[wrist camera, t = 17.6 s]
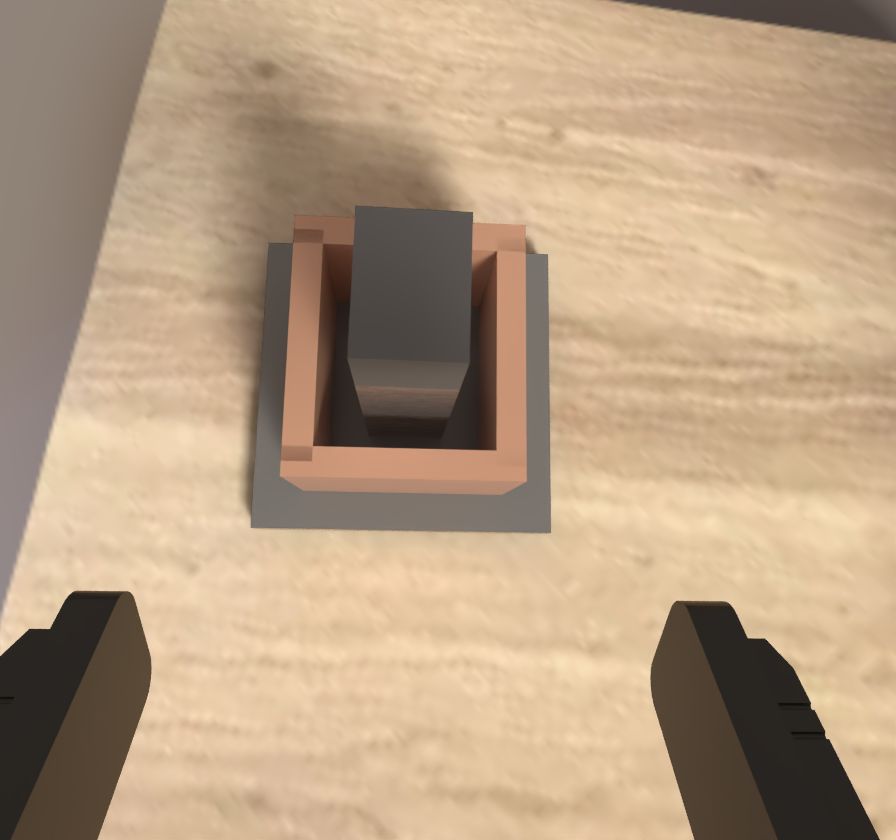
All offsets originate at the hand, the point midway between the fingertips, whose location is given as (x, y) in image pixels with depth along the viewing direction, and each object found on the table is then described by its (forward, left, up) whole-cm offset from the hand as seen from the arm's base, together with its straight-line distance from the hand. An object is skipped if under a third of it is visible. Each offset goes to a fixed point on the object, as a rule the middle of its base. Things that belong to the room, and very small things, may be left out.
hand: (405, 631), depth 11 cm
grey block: (0, -8, -18) cm, 19 cm away
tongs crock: (0, -8, -19) cm, 21 cm away
